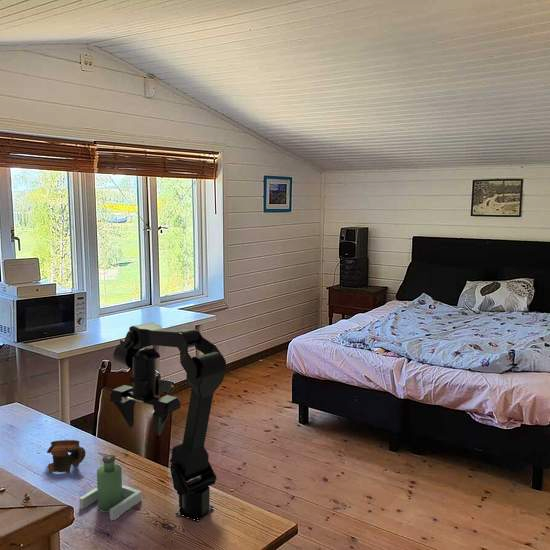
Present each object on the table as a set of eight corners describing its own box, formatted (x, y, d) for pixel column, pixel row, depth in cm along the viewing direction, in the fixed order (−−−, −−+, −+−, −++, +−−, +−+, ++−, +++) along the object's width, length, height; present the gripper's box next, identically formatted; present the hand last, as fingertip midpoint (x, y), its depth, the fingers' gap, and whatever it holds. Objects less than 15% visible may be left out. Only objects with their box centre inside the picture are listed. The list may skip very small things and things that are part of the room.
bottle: (127, 503, 133) (126, 455, 131) (110, 514, 128) (109, 465, 127) (110, 496, 136) (108, 450, 134) (92, 507, 131) (91, 459, 129)
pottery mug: (37, 473, 147) (40, 441, 150) (62, 474, 155) (64, 443, 158) (73, 470, 143) (76, 437, 146) (97, 471, 151) (99, 439, 154)
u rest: (141, 500, 134) (141, 491, 134) (113, 521, 126) (112, 510, 126) (109, 489, 139) (108, 480, 139) (79, 507, 131) (79, 498, 130)
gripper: (193, 370, 143) (193, 427, 146) (137, 358, 152) (138, 413, 154) (165, 382, 134) (166, 444, 136) (107, 369, 142) (109, 427, 144)
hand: (145, 431), depth 143 cm, fingers open, 9 cm apart
